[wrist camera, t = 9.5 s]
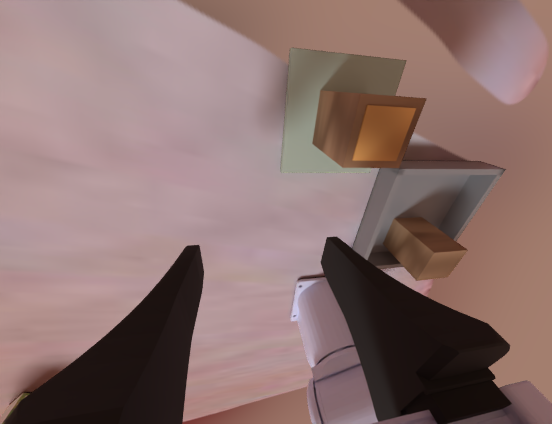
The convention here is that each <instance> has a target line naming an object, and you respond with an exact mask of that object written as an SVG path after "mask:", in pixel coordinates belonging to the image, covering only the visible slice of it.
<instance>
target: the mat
mask: <svg viewBox="0 0 552 424" xmlns="http://www.w3.org/2000/svg"><path fill="white" fill-rule="evenodd" d="M405 64H406V60H397V59H388V58H380V57H371V56H361V55H353V54H344V53H335V52H326V51H316V50H308V49H299V48H291V49H290V53H289V66H288V79H287V91H286V104H285V117H284V129H283V142H282V155H281V167H280V171H281V173H370V171H371V168H342V167H341V166H340V165H338V164H337V163H336V162H335V161H333V160H332V159H331V158H330V157H328V156H327V155H326V154H324V153H323V152H322V151H321V150H319V149H318V148H317V147H316V146H314V145H313V144H312V142H313V135H314V129H315V122H316V116H317V109H318V103H319V96H320V90H323V91H336V92H349V93H363V94H375V95H388V96H395V94H396V91H397V88H398V85H399V82H400V79H401V76H402V73H403V70H404V66H405Z"/></svg>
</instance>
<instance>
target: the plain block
mask: <svg viewBox="0 0 552 424" xmlns="http://www.w3.org/2000/svg"><path fill="white" fill-rule="evenodd" d="M383 245H384V246H385V247H386V248H387V249H388V250H389V251H390V252H391V253H392V255H393V256H394V257H395V258H396V259H397V260H398V261H399V262H400V263H401V264H402V265H403V266H404V268H405V269H406V270H407V271H408V272H409V273H410V274H411V275H412V276H413V277H414V278H415V280H416V281H418V280H427V279H436V278H445V277H448V276H449V275H450V273H451V272H452V271H453V269H454V268H455V267H456V265H457V264H458V263H459V261H460V260H461V259H462V257H463V256H464V255H465V253H466V252H467V251H468V250H467V249H466V248H464V247H463V246H461V245H460V244H459V243H457V242H456V241H455V240H453V239H452V238H450V237H449V236H448V235H446V234H445V233H443V232H442V231H441V230H439V229H438V228H436V227H435V226H434V225H432V224H431V223H429V222H428V221H427V220H425V219H424V218H422V217H416V218H395V219H393V222H392V224H391V226H390V228H389V231H388V233H387V235H386V237H385V240H384V242H383Z"/></svg>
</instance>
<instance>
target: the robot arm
mask: <svg viewBox="0 0 552 424" xmlns="http://www.w3.org/2000/svg"><path fill="white" fill-rule="evenodd" d="M321 265H322V268H323V271H324V274H325V277H322V278H311V279H301V280H298V281H297V284H296V289H295V295H294V301H293V306H292V312H291V317H290V318H291V321H297V322H298V326H299V330H300V334H301V337H302V341H303V345H304V349H305V353H306V356H307V360H308V362H309V364H310V366H311V367H312V368H311V370H312V373H313V377H314V378H311V379H310V380H309V384H308V388H307V401H308V408H309V412H310V417H311V421H312V424H552V403H551V402H550V401H549V400H548V399H547V398H546V397H545V396H544V395H543V394H542V393H541V392H540V391H539V390H538V389H537V388H536V387H535V386H534V385H533V384H532V383H531V382H529V381H522V382H518V383H514V384H509V385H506V386H503V387H500V388H498V387H497V386H496V384H495V383H494V382H493V381H492V380H494V379H495V376H494V374H493V373H492V372H491V371H490V370H489V369H488V367H489V366H491V365H492V364H493V363H495V362H496V361H498V360H499V359H500V358H502V357H503V356H504V355H505V354H506V353H507V352H508V351H509V349H510V345H509V344H508V343H507V342H506V341H505V340H504V339H503V338H502V337H501V336H500V335H499V334H498V333H497V332H496V331H495V330H494V329H493V328H492V327H491V326H490V325H489V324H487V323H485V322H483V321H480V320H478V319H475V318H473V317H470V316H468V315H465V314H463V313H460V312H458V311H456V310H453V309H451V308H449V307H447V306H445V305H442V304H440V303H438V302H436V301H434V300H432V299H429V298H428V297H426V296H424V295H422V294H420V293H418V292H416V291H414V290H412V289H411V288H409V287H407V286H405V285H404V284H402V283H400V282H399V281H397V280H395V279H394V278H392V277H391V276H389V275H387V274H386V273H384V272H383V271H382V270H380V269H379V268H377V267H376V266H374V265H373V264H372V263H370V262H369V261H367V260H366V259H365V258H364V257H362V256H361V255H360V254H358V253H357V252H356V251H354V250H353V249H352V248H351V247H349V246H348V245H347V244H346V243H344V242H343V241H342V240H340V239H339V238H338V237H327V239H326V243H325V247H324V251H323V255H322V259H321ZM203 278H204V269H203V263H202V258H201V252H200V246H199V245H192V246H186V247H185V249H184V250H183V251H182V253H181V254H180V256H179V257H178V258H177V260H176V261H175V263H174V264H173V265H172V267H171V268H170V269H169V270H168V272H167V273H166V274H165V275H164V277H163V278H162V279H161V280H160V281H159V283H158V284H157V285H156V286H155V287H154V288H153V289H152V291H151V292H150V293H149V294H148V295H147V296H146V297H145V298H144V299H143V300H142V302H141V303H140V304H139V305H138V306H137V307H136V308H135V309H134V310H133V311H132V312H131V313H130V314H129V315H128V316H126V317H125V318H124V319H123V320H122V321H121V322H120V323H119V324H118V325H117V326H116V327H115V328H113V329H112V330H111V331H110V332H109V333H108V334H107V335H106V336H104V337H103V338H102V339H101V340H100V341H98V342H97V343H96V344H95V345H94V346H92V347H91V348H90V349H89V350H87V351H86V352H85V353H84V354H83V355H81V356H80V357H79V358H78V359H76V360H75V361H74V362H73V363H71V364H70V365H69V366H67V367H66V368H65V369H63V370H62V371H61V372H59V373H58V374H57V375H55V376H54V377H53V378H51V379H50V380H48V381H47V382H46V383H44V384H43V385H42V386H40V387H39V388H38V389H36V390H35V391H33V392H32V393H31V394H29V395H28V396H26V397H25V398H24V399H22V400H21V401H20V402H19V404H18V405H17V406H16V408H15V409H14V410H13V412H12V413H11V414H10V416H9V417H8V419H7V420H6V422H5V423H4V424H182V421H183V410H184V400H185V390H186V381H187V373H188V364H189V356H190V348H191V341H192V335H193V330H194V326H195V321H196V317H197V312H198V308H199V303H200V298H201V294H202V288H203Z"/></svg>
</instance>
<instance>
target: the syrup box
mask: <svg viewBox="0 0 552 424" xmlns="http://www.w3.org/2000/svg"><path fill="white" fill-rule="evenodd" d="M29 394H31V393H22V394H21V395H20V396H19V397H18V398H17V399H16V400H15V401H13V402H12V403H11V404H10V405H9V406H8V407H7V408H6V410H5V411H4V413H3V414H2V415H1V417H0V424H4V423H5V422H6V420H7V419H8V417H9V416H10V414H11V413H12V412H13V410H14V409H15V408H16V406H17V405H18V404H19V402H20V401H21V400H22V399H24V398H25V397H26V396H28V395H29Z"/></svg>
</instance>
